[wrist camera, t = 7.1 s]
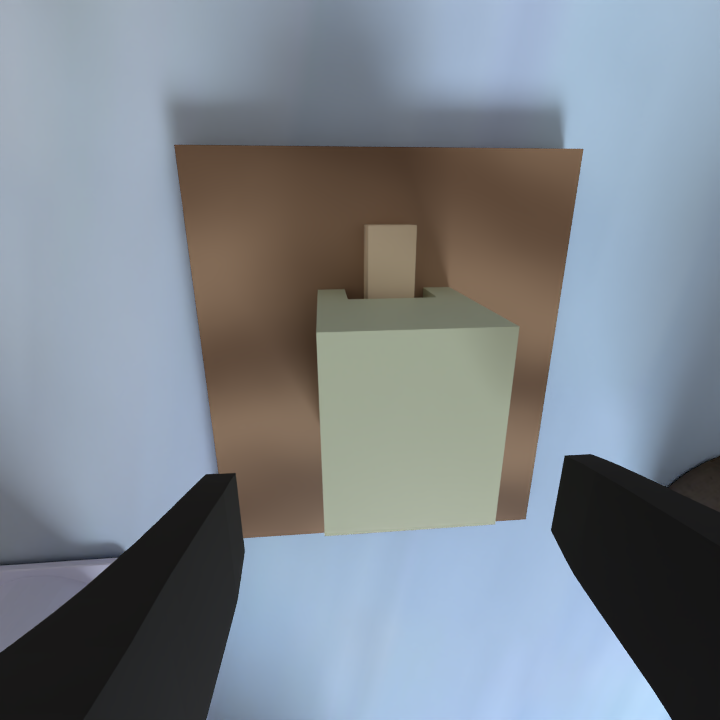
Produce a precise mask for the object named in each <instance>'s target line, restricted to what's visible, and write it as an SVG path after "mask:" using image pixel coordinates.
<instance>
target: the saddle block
mask: <svg viewBox="0 0 720 720" xmlns="http://www.w3.org/2000/svg"><path fill="white" fill-rule="evenodd" d="M519 327H520V326H518V325H516V324H514V323H512V322H511V321H509V320H507V319H505V318H503V317H502V316H500V315H498V314H496V313H495V312H493V311H491V310H489V309H487V308H486V307H484V306H482V305H480V304H479V303H477V302H475V301H473V300H471V299H470V298H468V297H466V296H464V295H462V294H461V293H459V292H457V291H455V290H454V289H452V288H450V287H423V298H384V299H348V298H347V295H346V292H345V289H327V290H318V296H317V324H316V340H317V364H318V387H319V411H320V435H321V459H322V483H323V507H324V530H325V536H334V535H348V534H363V533H377V532H392V531H406V530H420V529H435V528H449V527H463V526H478V525H492V524H495V521H496V513H497V504H498V496H499V488H500V480H501V472H502V464H503V456H504V448H505V440H506V432H507V424H508V416H509V408H510V400H511V392H512V384H513V376H514V368H515V360H516V351H517V343H518V335H519Z"/></svg>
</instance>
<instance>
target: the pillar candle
mask: <svg viewBox="0 0 720 720" xmlns="http://www.w3.org/2000/svg"><path fill="white" fill-rule="evenodd" d="M668 488H669V489H671V490H673V491H675V492H677V493H679V494H682V495H684V496H686V497H688V498H690V499H692V500H694V501H697V502H699V503H701V504H703V505H705V506H707V507H710V508H712V509H714V510H716V511H718V512H720V456H719V457H717V458H714V459H712V460H709V461H707V462H705V463H703V464H701V465H700V466H698V467H696V468H694V469H692V470H690V471H689V472H687V473H686V474H684V475H683V476H682V477H680V478H679V479H678V480H677V481H675V482H674V483H673V484H672V485H671V486H670V487H668Z"/></svg>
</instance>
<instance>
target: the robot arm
mask: <svg viewBox="0 0 720 720" xmlns="http://www.w3.org/2000/svg"><path fill="white" fill-rule="evenodd" d="M551 531H552V533H553V535H554V537H555V539H556V541H557V543H558V545H559V547H560V549H561V551H562V553H563V555H564V557H565V559H566V561H567V563H568V564H569V566H570V568H571V570H572V572H573V574H574V575H575V577H576V578H577V580H578V581H579V583H580V584H581V586H582V587H583V589H584V590H585V592H586V593H587V595H588V596H589V598H590V599H591V601H592V602H593V603H594V605H595V606H596V608H597V609H598V611H599V612H600V614H601V615H602V617H603V618H604V620H605V621H606V622H607V624H608V625H609V627H610V628H611V630H612V631H613V632H614V634H615V635H616V637H617V638H618V640H619V641H620V643H621V644H622V645H623V647H624V648H625V650H626V651H627V653H628V654H629V656H630V657H631V658H632V660H633V661H634V663H635V664H636V666H637V667H638V669H639V670H640V671H641V673H642V674H643V676H644V677H645V679H646V680H647V682H648V683H649V684H650V686H651V688H652V689H653V691H654V692H655V694H656V695H657V697H658V698H659V700H660V701H661V703H662V705H663V706H664V708H665V709H666V711H667V712H668V714H669V716H670V717H671V719H672V720H720V512H718V511H716V510H714V509H712V508H710V507H707V506H705V505H703V504H701V503H699V502H697V501H694V500H692V499H690V498H688V497H686V496H684V495H682V494H679V493H677V492H675V491H673V490H671V489H669V488H667V487H665V486H662V485H660V484H658V483H656V482H654V481H652V480H650V479H647V478H645V477H643V476H641V475H639V474H637V473H635V472H632V471H630V470H628V469H626V468H624V467H621V466H619V465H617V464H614V463H612V462H610V461H607V460H605V459H602V458H600V457H597V456H594V455H591V454H587V455H568V456H565V458H564V463H563V468H562V474H561V479H560V485H559V490H558V495H557V501H556V506H555V512H554V517H553V522H552V528H551ZM244 553H245V549H244V541H243V532H242V523H241V514H240V506H239V497H238V488H237V479H236V473H225V474H206V475H205V476H204V477H203V478H202V479H201V480H200V481H198V482H197V483H196V484H195V485H194V486H193V487H192V488H191V489H190V490H189V491H188V492H187V493H186V494H185V495H184V496H183V497H182V498H181V499H180V500H179V501H178V502H177V503H176V504H175V505H174V506H173V507H172V508H171V509H170V510H169V511H168V512H167V513H166V514H165V515H164V516H163V517H162V518H161V519H160V520H159V521H158V522H157V523H156V524H155V525H153V526H152V527H151V528H150V529H149V530H148V531H147V532H146V533H145V534H144V535H143V536H142V537H141V538H140V539H139V540H138V541H137V542H136V543H134V544H133V545H132V546H131V547H130V548H129V549H128V550H127V551H125V552H124V553H123V554H122V555H121V556H120V557H119V558H106V559H91V560H77V561H62V562H48V563H33V564H19V565H4V566H0V720H206V718H207V714H208V710H209V707H210V703H211V699H212V695H213V692H214V688H215V684H216V680H217V677H218V673H219V669H220V665H221V662H222V658H223V654H224V650H225V647H226V643H227V639H228V635H229V631H230V627H231V624H232V620H233V616H234V612H235V608H236V604H237V600H238V594H239V587H240V581H241V574H242V567H243V560H244Z"/></svg>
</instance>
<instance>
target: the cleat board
mask: <svg viewBox="0 0 720 720" xmlns="http://www.w3.org/2000/svg"><path fill="white" fill-rule="evenodd" d="M174 146H175V154H176V161H177V169H178V176H179V183H180V191H181V198H182V206H183V213H184V220H185V228H186V235H187V243H188V250H189V257H190V265H191V272H192V280H193V287H194V295H195V302H196V309H197V317H198V324H199V332H200V339H201V346H202V354H203V361H204V369H205V376H206V383H207V391H208V398H209V406H210V413H211V421H212V428H213V435H214V443H215V450H216V458H217V465H218V472H219V474H225V473H236V479H237V488H238V497H239V506H240V514H241V523H242V532H243V538H252V537H266V536H281V535H296V534H311V533H325V530H324V507H323V483H322V459H321V435H320V411H319V387H318V364H317V340H316V324H317V296H318V290H327V289H345V292H346V295H347V298H348V299H384V298H423V287H450V288H452V289H454V290H455V291H457V292H459V293H461V294H462V295H464V296H466V297H468V298H470V299H471V300H473V301H475V302H477V303H479V304H480V305H482V306H484V307H486V308H487V309H489V310H491V311H493V312H495V313H496V314H498V315H500V316H502V317H503V318H505V319H507V320H509V321H511V322H512V323H514V324H516V325H518V326H520V327H519V335H518V343H517V351H516V360H515V368H514V376H513V384H512V392H511V400H510V408H509V416H508V424H507V432H506V440H505V448H504V456H503V464H502V472H501V480H500V488H499V496H498V504H497V513H496V521H506V520H521V519H526V513H527V507H528V500H529V494H530V488H531V481H532V475H533V468H534V462H535V456H536V449H537V443H538V436H539V430H540V424H541V417H542V411H543V404H544V398H545V392H546V385H547V379H548V372H549V366H550V359H551V353H552V347H553V340H554V334H555V327H556V321H557V315H558V308H559V302H560V295H561V289H562V283H563V276H564V270H565V263H566V257H567V250H568V244H569V238H570V231H571V225H572V218H573V212H574V206H575V199H576V193H577V186H578V180H579V174H580V167H581V161H582V154H583V149H539V148H439V147H339V146H239V145H174Z"/></svg>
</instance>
